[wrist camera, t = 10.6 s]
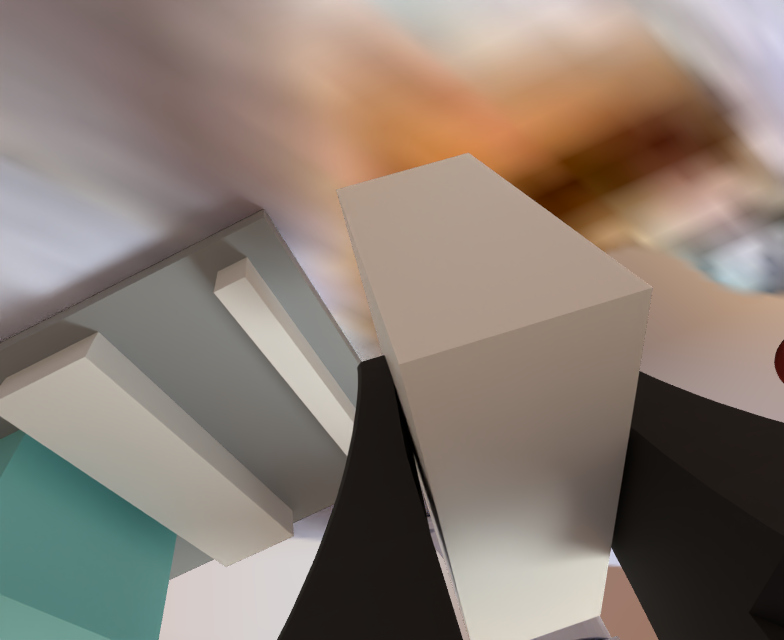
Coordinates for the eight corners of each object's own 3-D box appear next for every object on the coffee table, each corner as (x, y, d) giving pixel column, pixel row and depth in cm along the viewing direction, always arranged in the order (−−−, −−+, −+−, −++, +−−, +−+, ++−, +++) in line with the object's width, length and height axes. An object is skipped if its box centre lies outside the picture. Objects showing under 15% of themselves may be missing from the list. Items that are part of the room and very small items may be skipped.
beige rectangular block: (495, 423, 15) (600, 615, 10) (409, 450, 15) (475, 658, 10) (468, 152, 10) (653, 287, 5) (336, 189, 10) (399, 364, 5)
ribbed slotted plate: (419, 451, 26) (430, 486, 24) (127, 586, 27) (116, 629, 25) (264, 208, 17) (263, 234, 15) (-174, 431, 18) (-227, 481, 16)
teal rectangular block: (178, 524, 24) (155, 657, 19) (128, 548, 24) (92, 685, 19) (30, 423, 18) (-55, 572, 14) (-32, 455, 19) (-138, 612, 14)
